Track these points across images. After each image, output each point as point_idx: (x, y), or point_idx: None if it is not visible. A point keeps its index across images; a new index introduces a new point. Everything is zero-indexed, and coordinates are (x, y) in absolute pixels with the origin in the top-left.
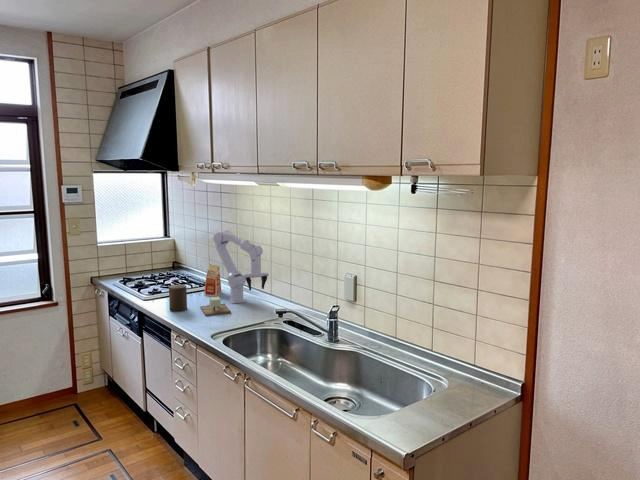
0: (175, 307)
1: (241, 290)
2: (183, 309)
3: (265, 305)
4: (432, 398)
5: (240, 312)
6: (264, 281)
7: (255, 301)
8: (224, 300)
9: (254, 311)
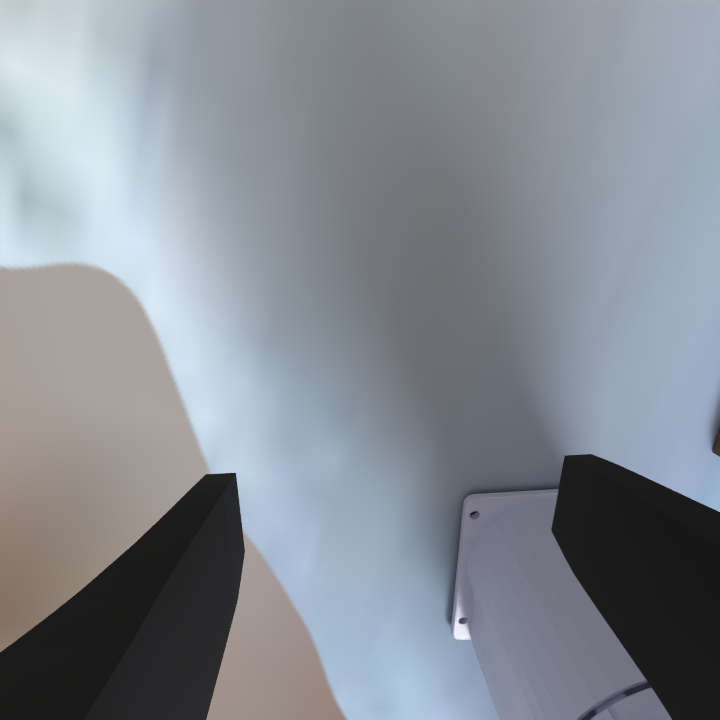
0: None
1: (590, 646)
2: None
3: (253, 279)
4: None
5: (701, 65)
6: (15, 702)
7: (339, 494)
8: None
9: (501, 16)
